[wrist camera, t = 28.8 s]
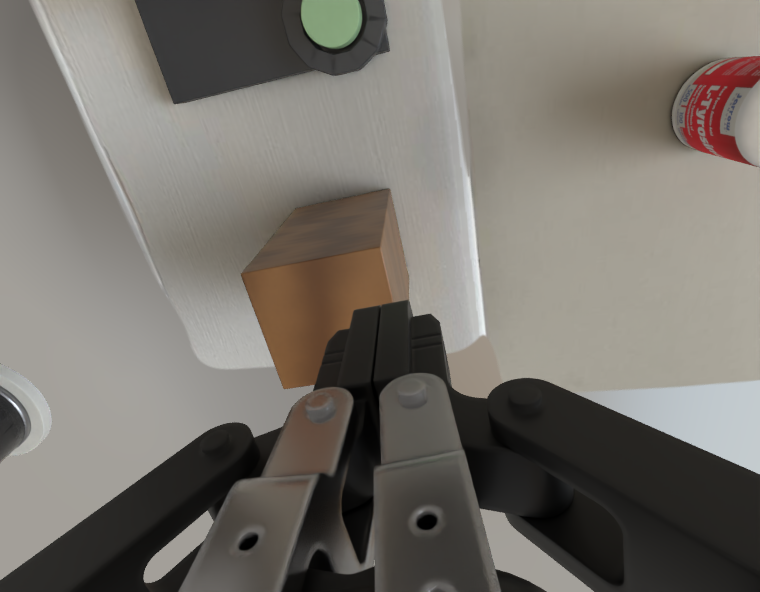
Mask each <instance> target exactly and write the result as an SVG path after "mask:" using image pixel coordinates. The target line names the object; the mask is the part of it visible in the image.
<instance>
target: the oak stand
mask: <svg viewBox="0 0 760 592" xmlns="http://www.w3.org/2000/svg"><path fill="white" fill-rule="evenodd" d="M241 276H242V279H243V282H244V284H245V287H246V290H247V292H248V295H249V298H250V300H251V303H252V306H253V308H254V311H255V314H256V316H257V319H258V322H259V325H260V327H261V330H262V333H263V335H264V338H265V341H266V343H267V346H268V349H269V351H270V354H271V357H272V359H273V362H274V365H275V367H276V369H277V373H278V375H279V378H280V380H281V383H282V386H283V388H284V389H288V388H296V387H303V386H309V385H315V383H316V380H317V376H318V373H319V370H320V366H321V365H322V360H323V356H324V355H325V354H324V353H325V349H326V346H327V343H328V341H329V340H330V339H331V338H332V337H333V336H334V334H335V333H336V332H337V331H338V330H344V329H349V328H350V324H351V320H352V315H353V311H354V310H356V309H361V308H367V307H372V306H377V305H381V306H382V304H388V303H393V302H398V301H404V300H409V276H408V271H407V266H406V262H405V257H404V252H403V247H402V243H401V238H400V233H399V228H398V224H397V219H396V214H395V209H394V205H393V200H392V195H391V190H390V189H385V190H381V191H376V192H371V193H366V194H361V195H357V196H352V197H347V198H342V199H338V200H333V201H328V202H323V203H318V204H314V205H309V206H304V207H299V208H296V209H295V210H294V211H293V212H292V213H291V215H290V216H289V217H288V218H287V219H286V221H285V222H284V223H283V224H282V225H281V226H280V228H279V229H278V230H277V231H276V232H275V234H274V235H273V236H272V237H271V238H270V240H269V241H268V242H267V243H266V244H265V245H264V247H263V248H262V249H261V250H260V251H259V253H258V254H257V255H256V256H255V257H254V259H253V260H252V261H251V262H250V263H249V265H248V266H247V267H246V268H245V269H244V270H243V272H242V273H241Z"/></svg>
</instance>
